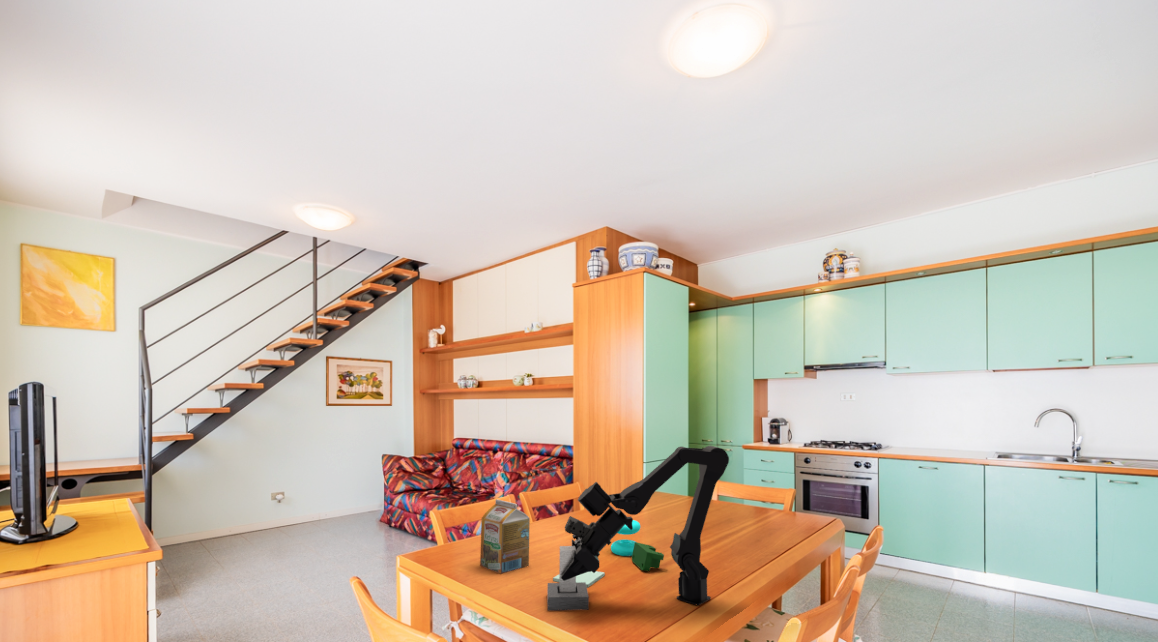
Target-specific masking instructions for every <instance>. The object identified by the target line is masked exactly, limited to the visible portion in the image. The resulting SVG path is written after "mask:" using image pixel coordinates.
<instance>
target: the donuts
mask: <svg viewBox="0 0 1158 642" xmlns="http://www.w3.org/2000/svg"><path fill="white" fill-rule="evenodd" d="M632 527H633V529H632V530H630V529H629V528H628V527H627V526H626V525H624V526H623V527H622V528H621V529H620V530H619V532H618V533H617V534H618V535H623V536H627V535H629V536H630V535H634V534H637V533H638V532H639V531H641V523H640V522H639V521H638V520H634V519H633V521H632ZM635 542H636V541H635V540H632V539H625V538H624V539H623V538H622V539H617V540H615V541H613V542H611V544H610V545H611V546H610V550H611V552H612V553H613V555H614V554H615V555H617V556H621V557H632V553H633V549H634V544H635Z"/></svg>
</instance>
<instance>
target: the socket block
mask: <svg viewBox="0 0 1158 642" xmlns="http://www.w3.org/2000/svg"><path fill="white" fill-rule="evenodd" d="M546 598H547V602H546V603H547V611H550V612H551V611H589V604H590V603H589V601H590V599H589V598H590V597H589V592H588V588H587V587H586V582H579V583H576V593H559V582H547V597H546Z"/></svg>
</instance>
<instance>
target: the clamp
mask: <svg viewBox="0 0 1158 642" xmlns="http://www.w3.org/2000/svg"><path fill="white" fill-rule="evenodd" d="M656 550H657V548H656V547H654V546H653V545H650V544H646V543H642V542H637V541H635V544H634V549H633V553H632V556H631V561H632V563H634V565H636V566H637V567H638V568H639V569H640V570H641V571H645V572H648V571H649V572H650V571H651V568H653V569H656V568H659V569H660V566H661V562H662V561H664V558H665V554H664V553H662V552H659V551H656Z"/></svg>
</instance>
